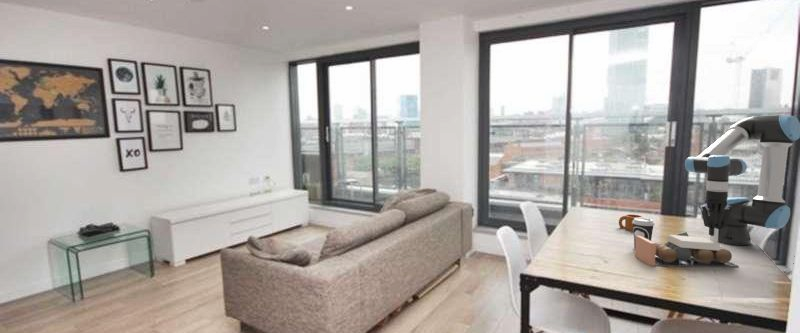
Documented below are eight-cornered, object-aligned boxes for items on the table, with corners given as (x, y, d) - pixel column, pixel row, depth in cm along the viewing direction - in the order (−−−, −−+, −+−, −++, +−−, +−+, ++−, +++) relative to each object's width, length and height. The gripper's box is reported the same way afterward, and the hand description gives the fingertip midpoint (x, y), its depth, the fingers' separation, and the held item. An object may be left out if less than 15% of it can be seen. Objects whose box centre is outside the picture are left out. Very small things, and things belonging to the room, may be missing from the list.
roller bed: (715, 256, 183) (715, 253, 183) (738, 267, 169) (738, 263, 169) (638, 255, 186) (638, 252, 186) (655, 266, 172) (655, 262, 172)
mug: (620, 227, 239) (621, 212, 238) (643, 230, 231) (644, 215, 230) (617, 230, 232) (617, 215, 231) (640, 233, 224) (641, 218, 223)
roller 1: (650, 255, 184) (650, 242, 183) (663, 255, 183) (664, 242, 183) (662, 262, 174) (663, 249, 173) (676, 262, 173) (677, 249, 173)
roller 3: (683, 255, 182) (684, 242, 182) (697, 255, 182) (698, 243, 181) (698, 262, 173) (699, 249, 172) (712, 263, 172) (714, 249, 172)
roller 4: (701, 255, 182) (701, 243, 181) (715, 255, 181) (715, 243, 181) (716, 263, 172) (717, 249, 171) (731, 263, 171) (732, 249, 171)
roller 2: (668, 256, 183) (660, 246, 183) (679, 248, 182) (672, 238, 182) (681, 263, 173) (673, 252, 173) (693, 255, 172) (685, 245, 172)
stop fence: (639, 256, 186) (640, 235, 185) (654, 265, 173) (655, 243, 172) (634, 256, 186) (635, 235, 185) (650, 265, 173) (651, 243, 172)
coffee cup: (656, 252, 191) (658, 222, 189) (635, 251, 193) (636, 221, 191) (648, 246, 200) (649, 217, 199) (628, 245, 202) (629, 217, 201)
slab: (703, 243, 181) (704, 237, 181) (719, 250, 171) (720, 243, 171) (667, 240, 182) (668, 234, 182) (680, 247, 173) (681, 240, 172)
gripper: (726, 189, 177) (723, 240, 179) (695, 189, 178) (692, 240, 180) (739, 191, 170) (735, 245, 172) (707, 191, 171) (704, 245, 173)
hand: (713, 242), depth 176 cm, fingers closed
